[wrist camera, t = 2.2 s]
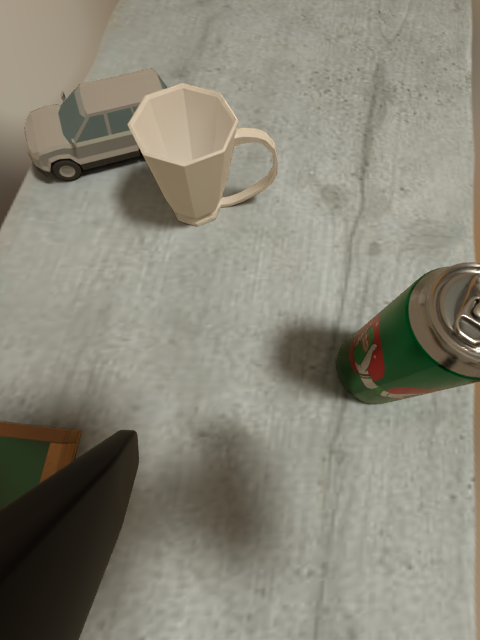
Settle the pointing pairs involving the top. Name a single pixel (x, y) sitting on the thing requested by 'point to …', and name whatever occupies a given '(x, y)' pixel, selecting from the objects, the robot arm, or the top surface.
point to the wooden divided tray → (32, 456)
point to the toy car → (89, 125)
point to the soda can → (418, 340)
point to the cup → (194, 149)
